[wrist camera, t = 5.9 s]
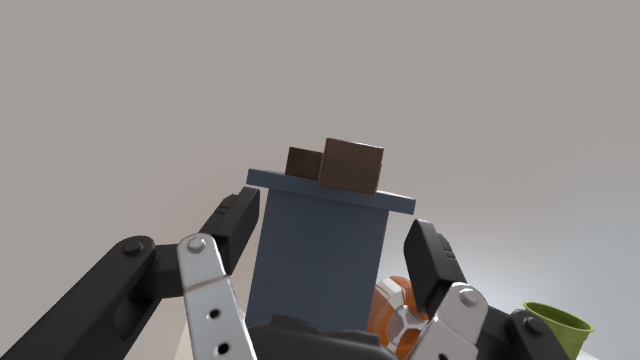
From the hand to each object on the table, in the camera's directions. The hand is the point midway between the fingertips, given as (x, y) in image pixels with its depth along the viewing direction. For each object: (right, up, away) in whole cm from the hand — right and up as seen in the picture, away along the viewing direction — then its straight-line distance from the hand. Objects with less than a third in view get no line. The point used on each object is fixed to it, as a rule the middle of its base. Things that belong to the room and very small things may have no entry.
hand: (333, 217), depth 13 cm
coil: (+14, -33, +37) cm, 52 cm away
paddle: (0, +2, +12) cm, 12 cm away
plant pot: (+51, -40, +45) cm, 79 cm away
